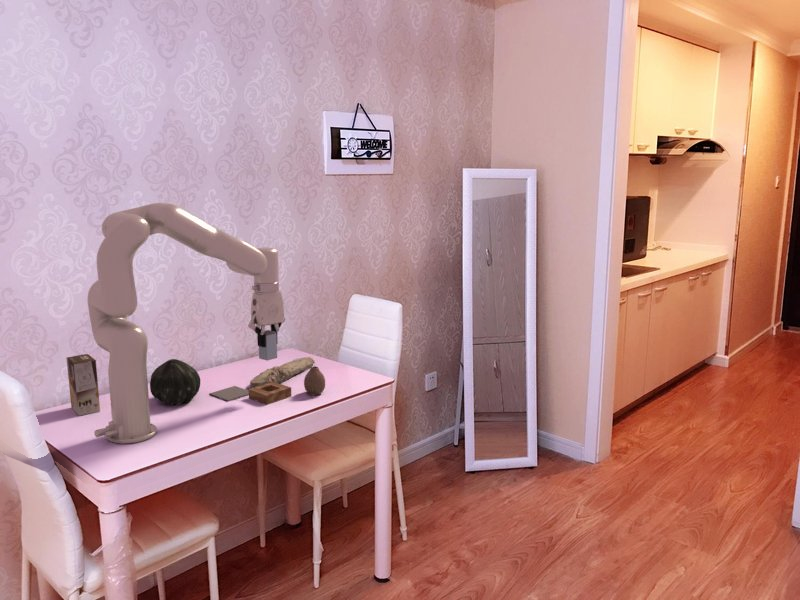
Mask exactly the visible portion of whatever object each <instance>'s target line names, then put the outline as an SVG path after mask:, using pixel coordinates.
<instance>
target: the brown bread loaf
mask: <svg viewBox="0 0 800 600" xmlns="http://www.w3.org/2000/svg"><path fill="white" fill-rule="evenodd" d="M315 363H316V362H315V359H314V358H313V357H311V356H309V357H307V356H306V357H299V358H296V359H295V358H294V359H293V360H291V361H288V362H286V363H283V364H281V365H279V366H278V365H276V366H272V367H271V368H267V369H266V370H264V371H262V372H260V373H259V374H258V375H256V376H255V377H253V378H251V380H250V381H249V386H250V389H251V388H254V387H257V386H261V385H264V384H267V383H270V382H275V383H279V384H283V383H285V382H286V381H287V380H289V379H292V378H293V377H294V376H295V375H297V374H298V375H299V374H300V373H301V372H304V371H307V370H308V369H309V370H310V368H311V367H314V366H313V365H314V364H315ZM284 381H285V382H284Z"/></svg>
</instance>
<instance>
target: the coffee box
mask: <svg viewBox="0 0 800 600" xmlns="http://www.w3.org/2000/svg"><path fill="white" fill-rule="evenodd" d="M66 366H67V376H68V377H67V378H68V388H69V397H70V406H71V410H72V411H74V412H75V414H77V416H79V417H80V416H85V415H89V414H94V413H99V412H100V411H101V407H100V405H101V404H100V393H99V391H100V390H99V383H98V382H99V381H98V369H97V360H96V359H95V358H94V357H92V356H91V355H90V354H88V353H85V354H78V355H72V356H68V357H66Z"/></svg>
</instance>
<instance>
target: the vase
mask: <svg viewBox="0 0 800 600" xmlns="http://www.w3.org/2000/svg"><path fill="white" fill-rule="evenodd" d="M303 387H304V390H305V392H306V393H307V394H308V395H311V396H319V395H321V394H322V393H323V392H324V391H325V389H326V379H325V376H324V374H323V373H322V372H321V370H320V368H319V367H318V366H311V367H310V368H309V370H308V372H307V373H306V375H305V376H304V380H303Z"/></svg>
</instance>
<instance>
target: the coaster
mask: <svg viewBox="0 0 800 600" xmlns="http://www.w3.org/2000/svg"><path fill="white" fill-rule="evenodd" d="M208 394H209V395H210V396H212V397H215V398H218V399H221V400H224V401H226V402H232V401H235V400H237V399H240V398H243V397H246V396H249V391H248V389H245V388H242V387H239V386H237V385H232V386H229V387H227V388H223V389H219V390H216V391H213V392H210V393H208Z"/></svg>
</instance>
